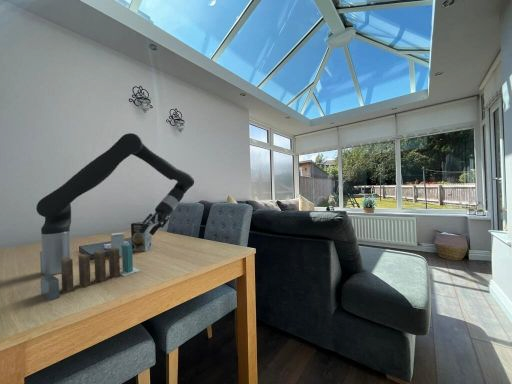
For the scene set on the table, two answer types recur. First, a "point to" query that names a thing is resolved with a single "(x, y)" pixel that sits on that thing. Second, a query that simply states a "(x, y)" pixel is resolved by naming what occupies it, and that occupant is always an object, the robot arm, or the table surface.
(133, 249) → the coffee box
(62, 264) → the domino
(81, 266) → the domino
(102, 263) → the domino
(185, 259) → the table surface
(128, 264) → the teal domino
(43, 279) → the end stop
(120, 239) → the skincare box
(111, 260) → the domino
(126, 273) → the slot marker
